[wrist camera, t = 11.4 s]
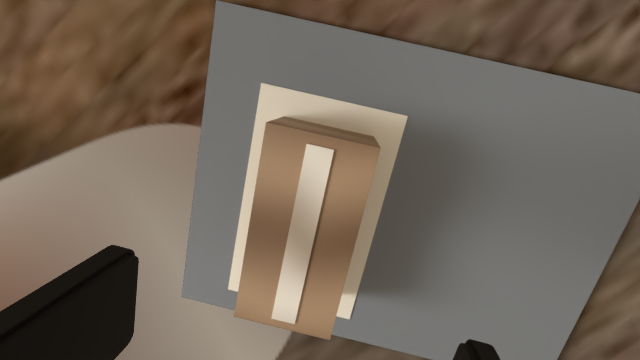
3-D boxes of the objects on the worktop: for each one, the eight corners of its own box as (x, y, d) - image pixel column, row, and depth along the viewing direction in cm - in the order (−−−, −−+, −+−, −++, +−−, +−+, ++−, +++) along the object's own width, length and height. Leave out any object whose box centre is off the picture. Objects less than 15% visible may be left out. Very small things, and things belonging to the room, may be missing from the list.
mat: (676, 103, 16) (690, 104, 16) (537, 379, 21) (543, 388, 21) (220, 3, 17) (215, -1, 16) (185, 291, 22) (180, 297, 21)
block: (333, 293, 20) (329, 341, 16) (256, 274, 20) (233, 317, 16) (373, 136, 18) (380, 148, 14) (284, 116, 18) (265, 122, 14)
